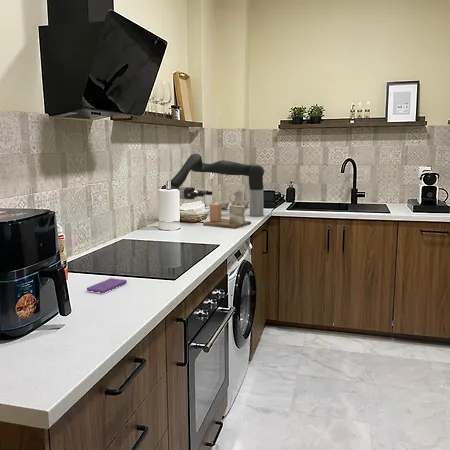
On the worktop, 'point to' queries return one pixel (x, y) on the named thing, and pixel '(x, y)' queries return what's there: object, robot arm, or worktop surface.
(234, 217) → the ticket stand
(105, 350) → the worktop surface
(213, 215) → the tan upright block
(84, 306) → the worktop surface
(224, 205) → the chinaware
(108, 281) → the sponges
